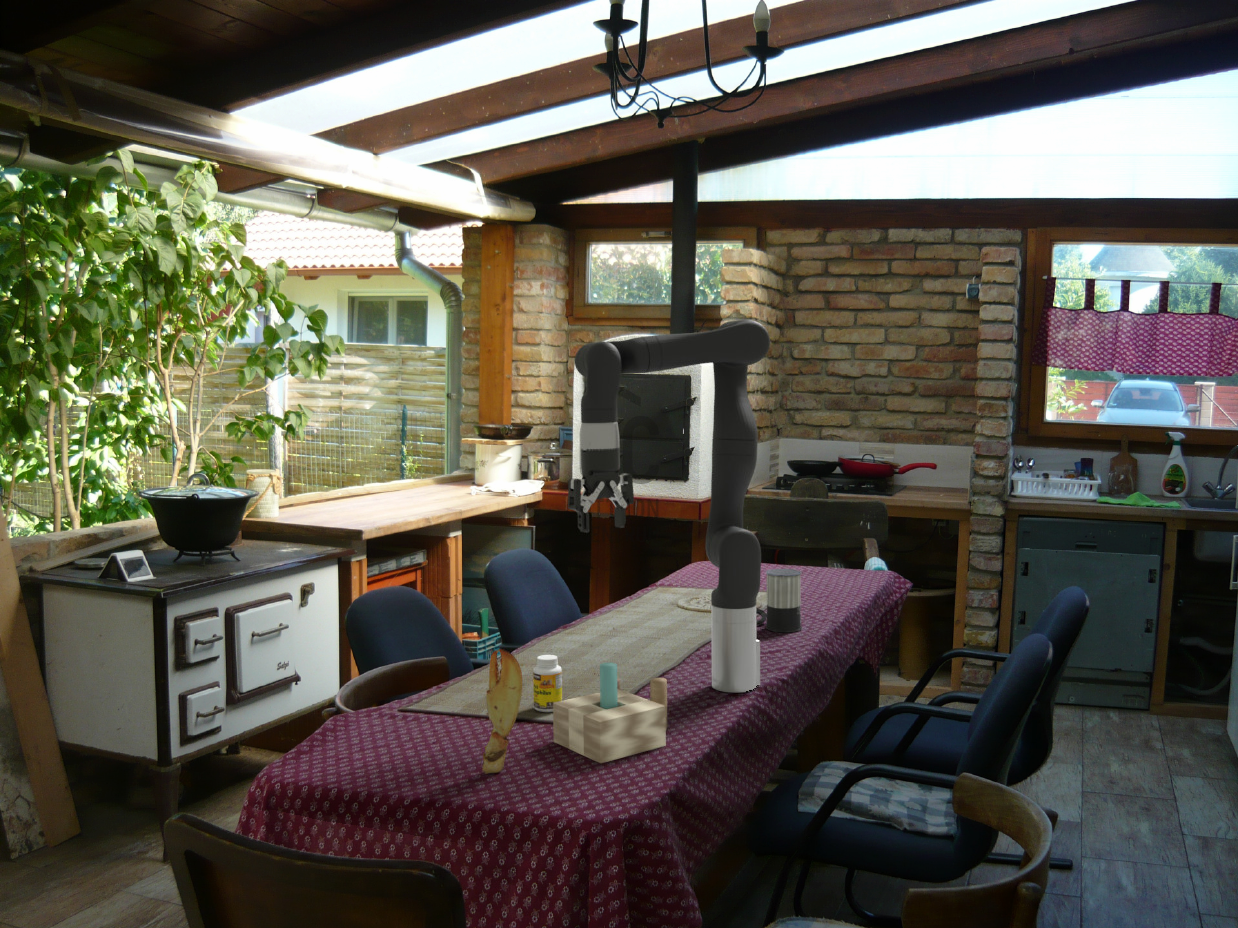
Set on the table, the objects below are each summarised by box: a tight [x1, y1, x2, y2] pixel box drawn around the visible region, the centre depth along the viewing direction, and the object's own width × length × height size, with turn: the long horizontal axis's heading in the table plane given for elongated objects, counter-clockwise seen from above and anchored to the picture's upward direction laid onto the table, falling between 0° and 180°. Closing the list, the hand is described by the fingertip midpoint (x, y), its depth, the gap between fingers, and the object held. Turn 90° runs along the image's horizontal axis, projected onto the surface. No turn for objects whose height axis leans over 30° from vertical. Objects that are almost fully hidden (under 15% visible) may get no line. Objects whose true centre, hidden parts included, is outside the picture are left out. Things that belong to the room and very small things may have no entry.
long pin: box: [599, 662, 618, 710], centre depth 187 cm, size 3×3×14 cm
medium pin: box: [649, 677, 668, 731], centre depth 195 cm, size 3×3×9 cm
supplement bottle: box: [532, 654, 563, 713], centre depth 208 cm, size 6×6×10 cm
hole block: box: [552, 689, 667, 764], centre depth 187 cm, size 14×14×7 cm
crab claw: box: [481, 648, 523, 775], centre depth 174 cm, size 7×5×20 cm
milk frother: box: [756, 568, 803, 633], centre depth 276 cm, size 14×16×15 cm
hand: (602, 529), depth 208 cm, fingers open, 8 cm apart
